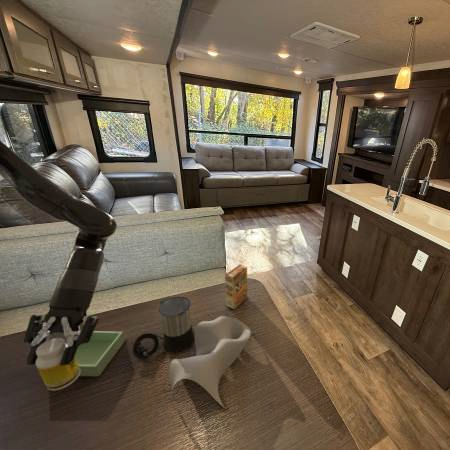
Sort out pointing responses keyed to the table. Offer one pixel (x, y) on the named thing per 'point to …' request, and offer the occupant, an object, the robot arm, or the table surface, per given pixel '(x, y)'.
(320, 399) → the table surface
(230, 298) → the candy box
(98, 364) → the shallow green tray
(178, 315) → the milk frother
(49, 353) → the pill bottle
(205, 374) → the sculpture
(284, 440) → the table surface
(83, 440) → the table surface
